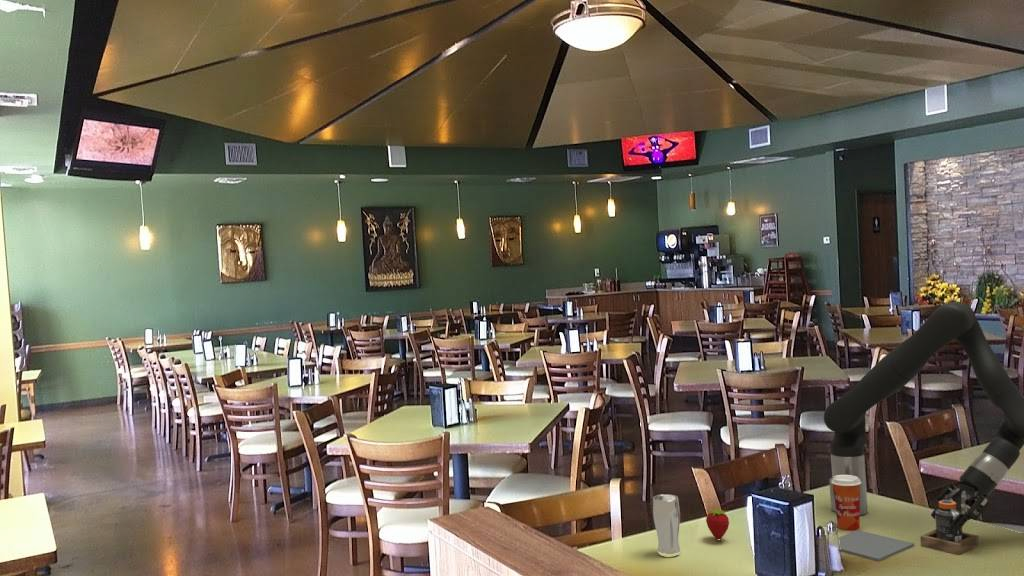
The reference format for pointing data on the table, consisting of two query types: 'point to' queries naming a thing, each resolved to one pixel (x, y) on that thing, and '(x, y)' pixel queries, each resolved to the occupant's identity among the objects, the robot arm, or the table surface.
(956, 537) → the pill bottle
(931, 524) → the table surface
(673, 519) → the beer glass
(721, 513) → the strawberry
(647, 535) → the table surface
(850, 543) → the rubber mat
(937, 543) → the holder collar
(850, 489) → the paper cup
